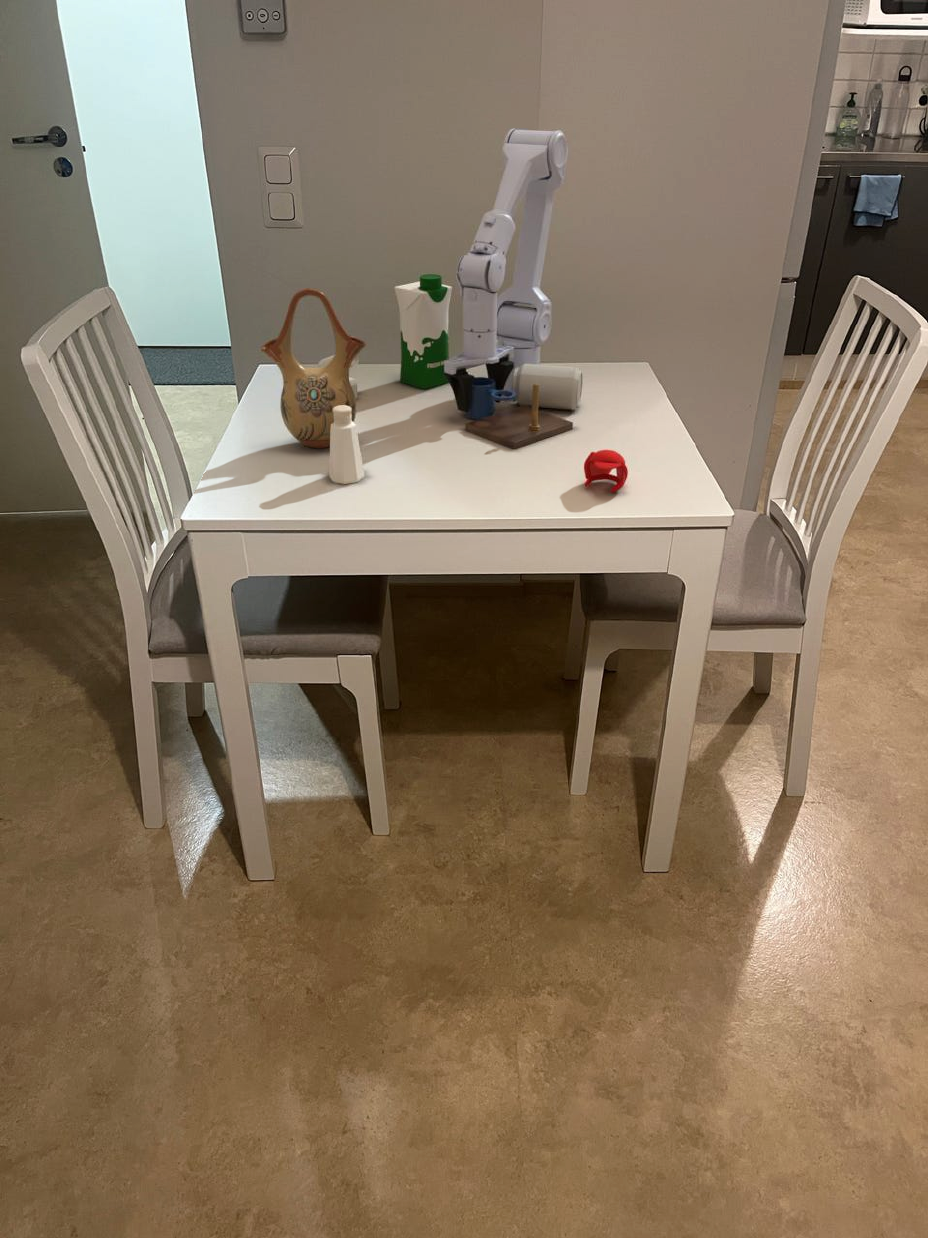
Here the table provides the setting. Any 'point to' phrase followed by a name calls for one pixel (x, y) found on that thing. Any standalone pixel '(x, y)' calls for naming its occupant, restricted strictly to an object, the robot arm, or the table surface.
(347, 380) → the ceramic vessel
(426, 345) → the milk carton
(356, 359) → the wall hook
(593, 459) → the red hollow rounded piece
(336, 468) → the pepper shaker
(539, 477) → the table surface
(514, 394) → the cup
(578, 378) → the can
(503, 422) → the peg stand
